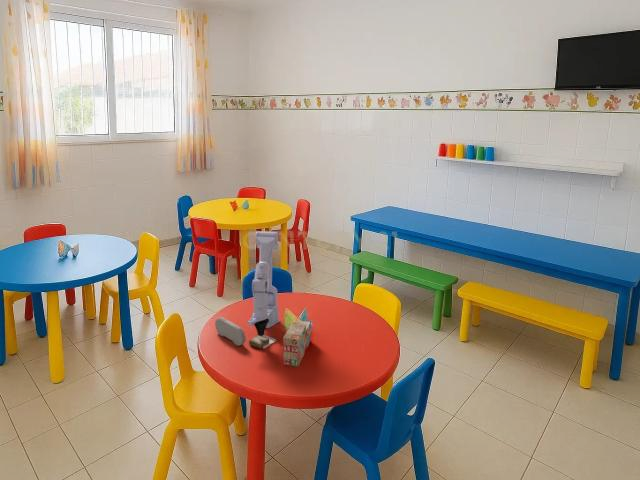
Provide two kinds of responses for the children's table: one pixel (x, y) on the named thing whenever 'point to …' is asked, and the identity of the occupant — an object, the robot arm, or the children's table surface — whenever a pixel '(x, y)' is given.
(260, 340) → the walnut tile
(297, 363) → the stack of blocks
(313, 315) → the children's table surface
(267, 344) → the mat
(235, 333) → the game controller
